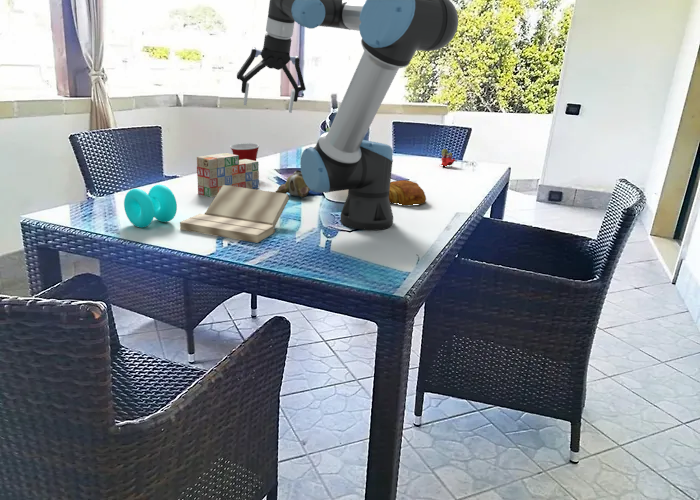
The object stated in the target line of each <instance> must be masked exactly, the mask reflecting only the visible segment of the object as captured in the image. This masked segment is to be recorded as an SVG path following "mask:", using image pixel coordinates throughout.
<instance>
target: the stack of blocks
mask: <svg viewBox="0 0 700 500" xmlns="http://www.w3.org/2000/svg"><path fill="white" fill-rule="evenodd" d="M259 165H260V164H259V161H258V160H256V161H254V160H248V159H243V160H239V155H234V154H233V153H227V152H224V153H222V152H221V153H215V154H208V155H201V156H200V155H199V156H196V175H197V176H196V177H197V194H198V195H201V196H205V197H208V198H215V197H216V195H217V194H218V192H219V191H220V189H221V187H222V186H223V185H227V186H235V187H242V188H249V189H259V185H260V183H259V181H260V175H259V174H260V172H259V171H260V169H259Z"/></svg>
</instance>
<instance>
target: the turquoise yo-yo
mask: <svg viewBox="0 0 700 500" xmlns="http://www.w3.org/2000/svg"><path fill="white" fill-rule="evenodd" d="M177 203H178V202H177V200H176V196H175V194H174V193H173V191H172V190H171V189H170V188H169V187H168V186H166V185H163V184H156V185H153V186H152V187H151V188H150V190H149V191H148V193H147V192H146V191H145V190H144V189H143V190H142V189H140V188H132V189H130V190H128V192H126V194H125V197H124V200H123V207H124V211H125V215H126V218H127V219H128V220H129V222H130V223H131V224H132V225H133V226H135V227H137V228H141V229H143V228H146V227H148V226H150V225H151V223H152V222H153V220H154V218H155V220H157V221H159V222H162V223H168V222H171V221H172V220H173V219H174V218H175V217H176V214H177V210H178V208H177V207H178V205H177Z"/></svg>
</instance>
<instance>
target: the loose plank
mask: <svg viewBox="0 0 700 500" xmlns="http://www.w3.org/2000/svg"><path fill="white" fill-rule="evenodd" d="M288 194H289V193H286V194H284V193H277V192H275V191H269V190H263V189H257V188H254V189H249V188H242V187H235V186H227V185H223V186H222V187H221V189H220V191H219V192H218V194H217V195H216V196H214V197H213V198H214V199H213V200H212V202H211V203H210V204H209V207H208V208H207V210H206V211H205V212H204V215H211V216H217V217H223V218H229V219H236V220H242V221H248V222H254V223H261V224H267V225H273V226H274V228H275V227H276V225H277V223H278V221H279V219H280V218H281V216H282V214H283V211H284V210H285V209H286V206H287V204H288V202H289V200H290V197H289V195H288Z"/></svg>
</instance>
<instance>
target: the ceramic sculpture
mask: <svg viewBox="0 0 700 500" xmlns="http://www.w3.org/2000/svg"><path fill="white" fill-rule="evenodd" d="M310 191H311V190H310V189H309V188H308V186H307V185H306V183H305V181H304V179H303V176H302V172H301V170H300V169H298V170H295V171H294V172H293V174H291V175H289V176H288V177H287V179H286V181H285V183H283V184H282V183H281V184H280V186H279V187H278V188H277V189H276V190H275V191H274V192H277V193H284V194H289V195H291V196H294V197H301V198H306V196H308V194H309V192H310Z"/></svg>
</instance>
